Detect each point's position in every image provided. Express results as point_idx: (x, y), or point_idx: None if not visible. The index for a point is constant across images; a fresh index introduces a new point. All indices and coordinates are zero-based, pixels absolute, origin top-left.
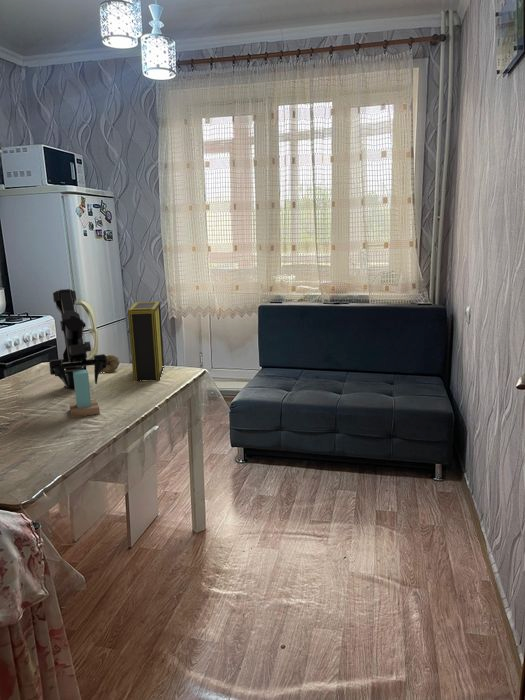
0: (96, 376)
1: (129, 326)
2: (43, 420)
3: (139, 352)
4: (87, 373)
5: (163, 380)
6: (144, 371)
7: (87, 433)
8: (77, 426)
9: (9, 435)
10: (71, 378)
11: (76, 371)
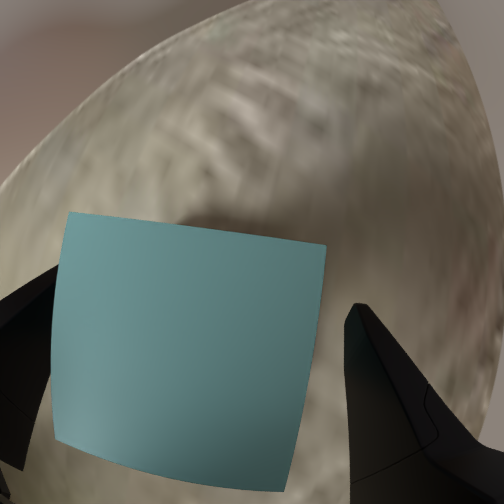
0: (25, 292)
1: None
2: (414, 304)
3: None
4: (84, 218)
5: None
6: None
7: (280, 61)
8: (301, 137)
9: (498, 212)
10: None
11: (228, 443)
